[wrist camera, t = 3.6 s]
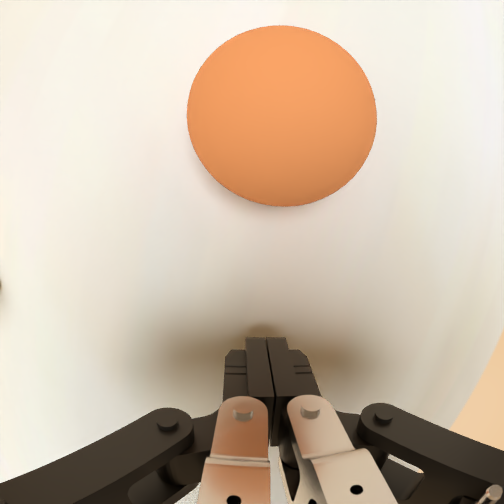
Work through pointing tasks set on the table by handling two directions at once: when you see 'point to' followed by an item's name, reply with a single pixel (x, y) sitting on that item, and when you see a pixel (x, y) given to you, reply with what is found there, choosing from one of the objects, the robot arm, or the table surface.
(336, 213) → the table surface
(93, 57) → the table surface
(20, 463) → the table surface
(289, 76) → the ball
